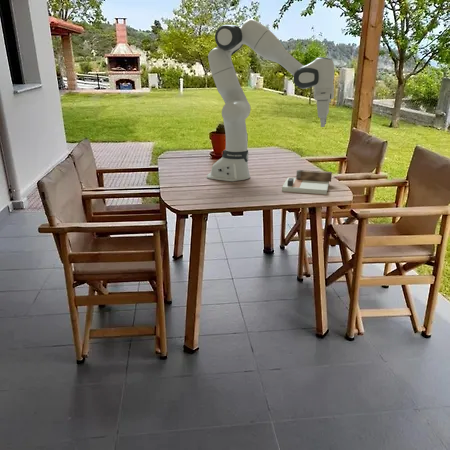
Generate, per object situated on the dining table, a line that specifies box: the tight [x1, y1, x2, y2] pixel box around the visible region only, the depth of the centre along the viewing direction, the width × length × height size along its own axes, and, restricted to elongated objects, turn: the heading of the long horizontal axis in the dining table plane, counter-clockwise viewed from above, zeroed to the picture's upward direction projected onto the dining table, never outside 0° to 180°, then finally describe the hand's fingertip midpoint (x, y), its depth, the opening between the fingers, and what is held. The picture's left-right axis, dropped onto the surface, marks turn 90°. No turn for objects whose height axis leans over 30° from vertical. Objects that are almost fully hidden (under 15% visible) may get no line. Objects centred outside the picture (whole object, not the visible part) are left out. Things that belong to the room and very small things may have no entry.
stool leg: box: [295, 169, 333, 183], centre depth 196 cm, size 17×3×4 cm, turn 73°
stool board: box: [281, 176, 330, 195], centre depth 191 cm, size 20×18×4 cm
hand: (323, 125), depth 192 cm, fingers open, 8 cm apart
